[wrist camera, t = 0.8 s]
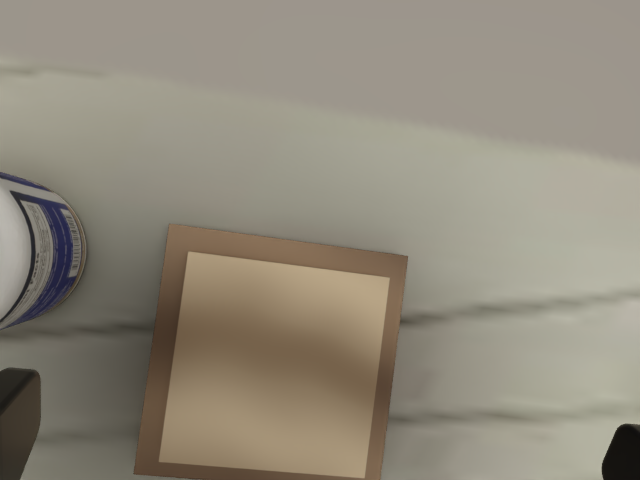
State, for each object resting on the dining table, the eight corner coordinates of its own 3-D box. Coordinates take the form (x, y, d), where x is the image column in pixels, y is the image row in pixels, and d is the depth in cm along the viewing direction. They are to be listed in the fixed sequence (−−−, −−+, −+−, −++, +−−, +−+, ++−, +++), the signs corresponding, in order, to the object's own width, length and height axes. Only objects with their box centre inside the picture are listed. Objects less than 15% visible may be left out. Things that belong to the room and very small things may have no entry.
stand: (371, 481, 25) (385, 505, 23) (138, 463, 24) (127, 486, 21) (400, 256, 25) (416, 256, 23) (172, 225, 24) (165, 222, 22)
